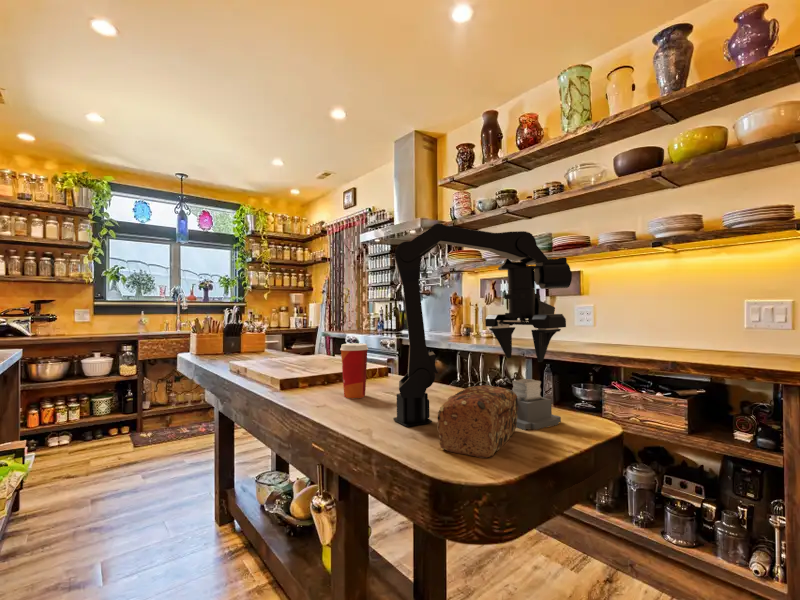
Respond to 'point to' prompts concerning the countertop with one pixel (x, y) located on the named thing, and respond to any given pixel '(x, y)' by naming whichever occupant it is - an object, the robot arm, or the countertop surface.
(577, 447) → the countertop surface
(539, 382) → the column
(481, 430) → the bread
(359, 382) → the coffee cup
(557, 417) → the stand base
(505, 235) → the robot arm
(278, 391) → the countertop surface
